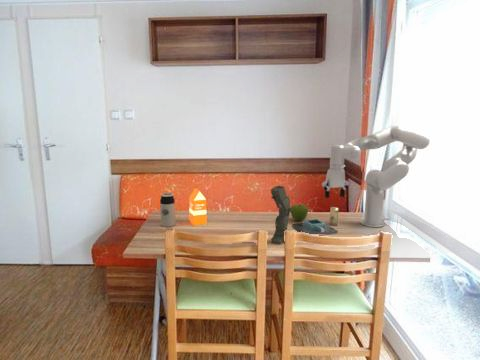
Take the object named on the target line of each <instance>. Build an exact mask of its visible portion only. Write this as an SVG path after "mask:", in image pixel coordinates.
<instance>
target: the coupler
mask: <svg viewBox="0 0 480 360" xmlns="http://www.w3.org/2000/svg"><path fill="white" fill-rule="evenodd" d="M339 210H340V209H339V207H336V206H331V207H330V213H329V226H330V227H337V226H339V223H338V222H339Z"/></svg>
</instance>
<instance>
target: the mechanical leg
mask: <svg viewBox="0 0 480 360" xmlns="http://www.w3.org/2000/svg"><path fill="white" fill-rule="evenodd" d="M270 192H271V198H272V199H273V201H274V203H275V204H276V207H277V209H278V215H277V216H276V218H275V220H274V222H275V231H274V234H273V235H272V237H271V239H270V243H272V244H276V245H282V244H284V231H285V230H287V231H288V226H289V225H288V224H289V221H290V214H291V213H290V209H291V199H290V196H289V195H287V192H286V188H285V187H284V186H283V185H276V186H274V187H273V188H271V189H270Z"/></svg>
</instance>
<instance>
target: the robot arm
mask: <svg viewBox="0 0 480 360" xmlns="http://www.w3.org/2000/svg"><path fill="white" fill-rule="evenodd" d="M394 142H399V143H402V144H403V145H402V147H401V149H400V151H399V152H397V153H396V154H395V155H392V156H391V157H390V158H389V159H387V160H385V162H384V163H383V165H382V170H383V171H382V170H379V169H371V170H370V171H368V172H367V174H366V175H365V189H366V190H365V192H366V193H365V202H364V214H363V215H364V217H363V218H364V219H362V220H360V223H361V225H363V226H365V227H369V228H382V227H384V226H385V221H389V219H390V218H389V217H388V216H383V210H384V209H383V208H384V197H385V191H386V190H389V189H391V188H392V187H394V186H395V185H396V184H397V183H399V182H400V181H402V180H403V179H404V178H405V177H406V176H408V173H409V169H410V168H409V164H411V163H412V162H413V161H414V160H415V159H416V156H417V152H418V150H422V149H423V150H424V149H425V148H427V147H428V146H429V145H430V137H429V135H427V134H426V133H424V132H421V131H418V130H416V129H413V128H410V127H408V126H405V125H391V126H389V127H386V128H384V129H382V130H379V131H377V132H375V133H372V134H368V135H366V136H363V137H359V138H356V139H353V140H352V141H349V142H347V143H345V144H333V145H331V146H330V157H329V169H327V173H326V178H325V180H324V181H323V182H322V183H321V187H322V188H323V191H324V197H325V198H326V199H330V189H331V188H333V189H334V188H335V189H337V188H340V189H339V196H340V198H341V197H342V198H344V197H345V193H346V189H348V186H349V185H350V181H348V180H346V172H345V167H346V165H345V159H349V160H355V159H358V158H359V157H361V152H362V151H367V150H369V151H370V150H376V149H381V148H382V147H383V148H384V147H385V146H387V145H389V144H392V143H394Z"/></svg>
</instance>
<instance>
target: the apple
mask: <svg viewBox="0 0 480 360" xmlns="http://www.w3.org/2000/svg"><path fill="white" fill-rule="evenodd" d="M290 208H291V209H290V214H291V217H292V219H294V220H295V221H296V222H303V220H306V218H307V216H308V213H309V208H308V206H306V205H305V204H297V203H296V204H293V205H290Z"/></svg>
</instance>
